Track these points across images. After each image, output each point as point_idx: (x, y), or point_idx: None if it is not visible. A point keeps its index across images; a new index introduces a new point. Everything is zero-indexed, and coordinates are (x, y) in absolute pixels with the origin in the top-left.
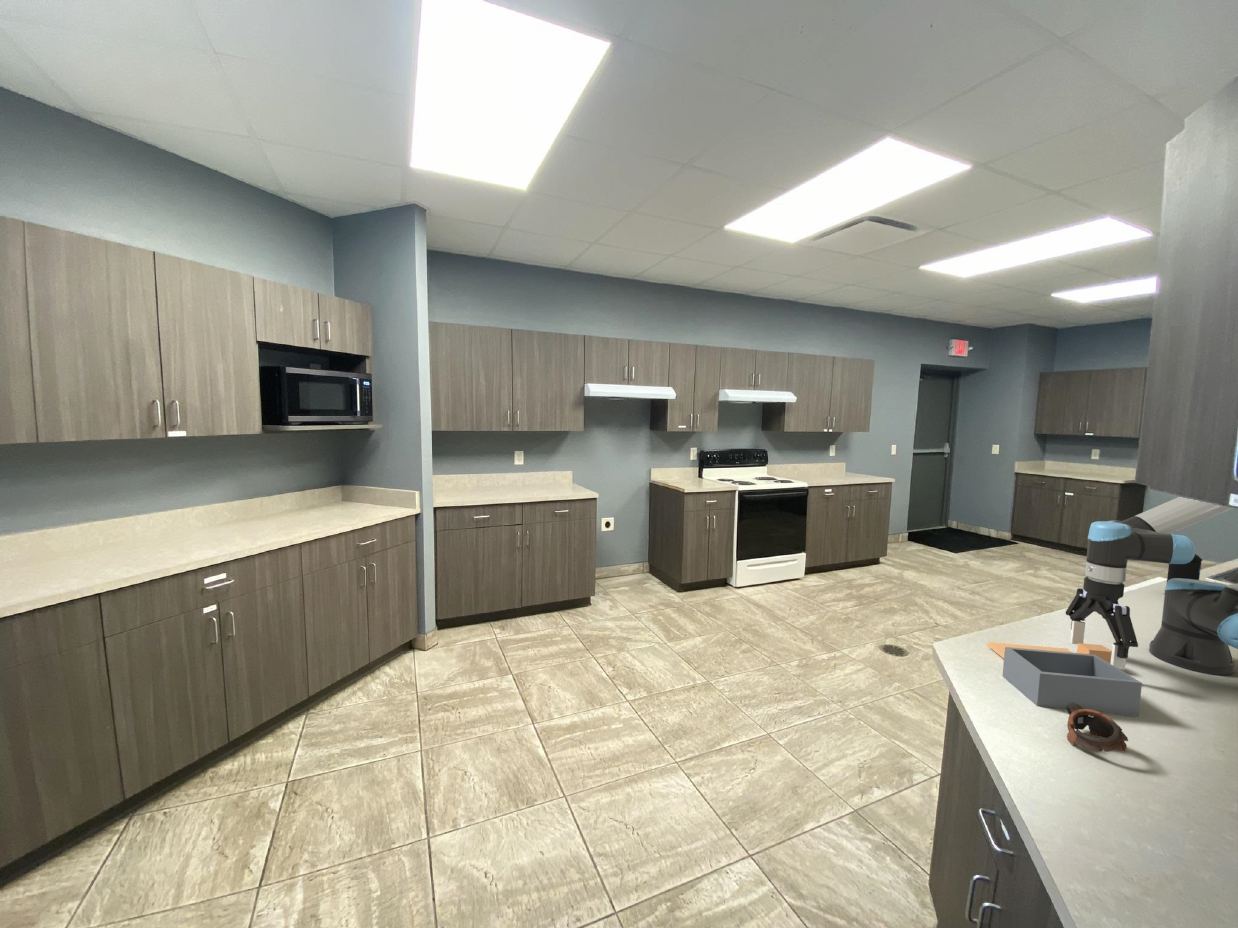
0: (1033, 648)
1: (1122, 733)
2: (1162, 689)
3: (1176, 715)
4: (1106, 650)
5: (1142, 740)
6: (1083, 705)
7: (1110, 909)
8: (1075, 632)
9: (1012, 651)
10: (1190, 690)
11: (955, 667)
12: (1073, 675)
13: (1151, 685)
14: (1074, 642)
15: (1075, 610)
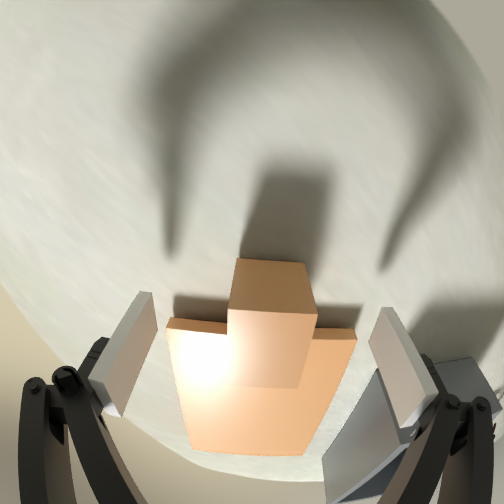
0: (201, 407)
1: (494, 430)
2: (425, 188)
3: (497, 285)
4: (301, 334)
5: (489, 381)
6: None
7: (501, 435)
8: (137, 363)
9: (344, 502)
10: (426, 85)
11: (292, 478)
12: None
13: (402, 200)
14: (155, 327)
15: (57, 440)
